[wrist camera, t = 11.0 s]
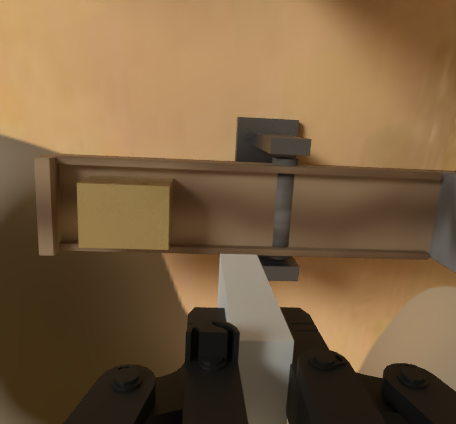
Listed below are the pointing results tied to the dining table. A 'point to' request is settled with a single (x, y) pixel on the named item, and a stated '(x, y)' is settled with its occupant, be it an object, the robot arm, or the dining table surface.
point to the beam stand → (263, 153)
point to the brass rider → (125, 212)
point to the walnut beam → (268, 207)
